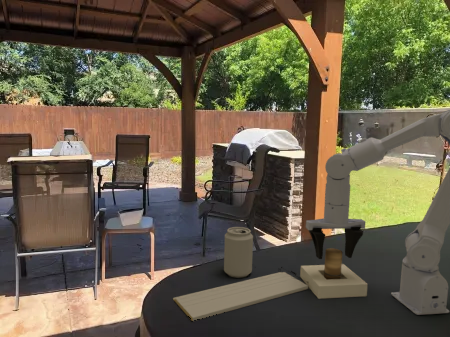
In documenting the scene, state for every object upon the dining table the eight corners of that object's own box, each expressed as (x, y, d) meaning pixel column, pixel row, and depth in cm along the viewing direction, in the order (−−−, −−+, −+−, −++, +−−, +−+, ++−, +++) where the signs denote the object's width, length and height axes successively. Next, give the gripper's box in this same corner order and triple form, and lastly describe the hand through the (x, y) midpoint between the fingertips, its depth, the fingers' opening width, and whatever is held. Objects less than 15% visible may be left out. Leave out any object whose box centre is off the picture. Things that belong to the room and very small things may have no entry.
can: (254, 278, 94) (256, 233, 93) (226, 279, 93) (227, 234, 91) (248, 266, 101) (249, 225, 100) (221, 268, 100) (222, 225, 99)
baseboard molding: (170, 299, 83) (192, 325, 73) (170, 287, 83) (192, 311, 73) (277, 273, 99) (308, 291, 89) (278, 263, 99) (308, 280, 88)
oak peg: (343, 289, 89) (346, 253, 88) (327, 290, 88) (330, 254, 87) (335, 281, 93) (337, 247, 92) (320, 282, 92) (322, 248, 91)
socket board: (366, 296, 86) (367, 284, 85) (318, 298, 84) (319, 286, 84) (342, 274, 97) (343, 264, 97) (300, 276, 96) (300, 265, 95)
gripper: (356, 199, 93) (353, 250, 95) (302, 200, 91) (299, 252, 93) (371, 205, 86) (367, 260, 88) (313, 206, 84) (310, 262, 86)
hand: (333, 257), depth 90 cm, fingers open, 7 cm apart
